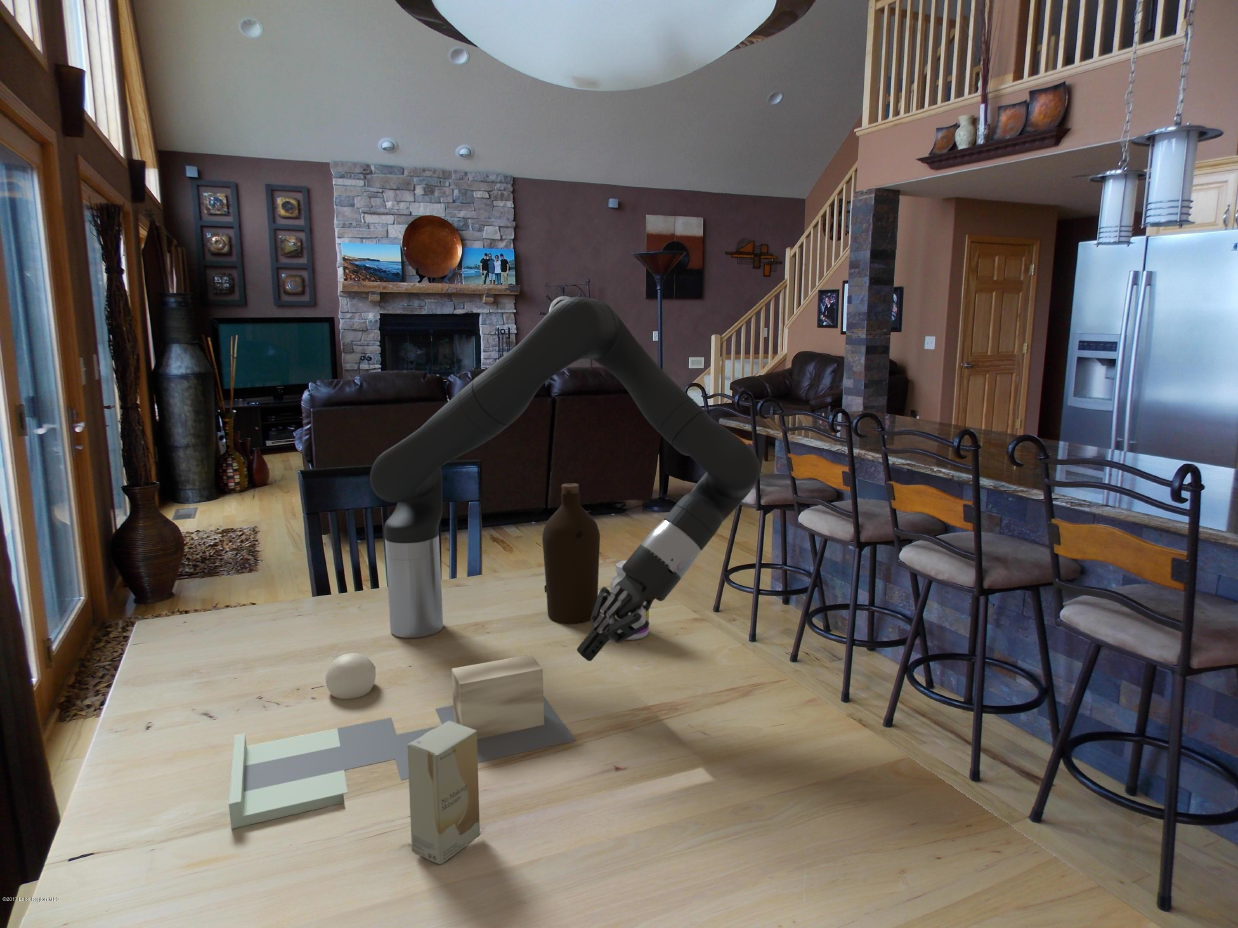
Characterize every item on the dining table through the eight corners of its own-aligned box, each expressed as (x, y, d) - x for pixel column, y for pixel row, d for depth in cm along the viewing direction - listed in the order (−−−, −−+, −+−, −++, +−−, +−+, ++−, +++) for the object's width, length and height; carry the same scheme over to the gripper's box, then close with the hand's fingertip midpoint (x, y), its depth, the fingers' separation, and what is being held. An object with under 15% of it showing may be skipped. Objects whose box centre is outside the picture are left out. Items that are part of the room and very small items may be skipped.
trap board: (236, 756, 101) (234, 734, 101) (538, 696, 117) (537, 676, 116) (231, 828, 87) (228, 803, 86) (576, 748, 102) (575, 727, 102)
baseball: (387, 689, 119) (385, 647, 118) (358, 711, 113) (354, 667, 111) (349, 683, 121) (346, 642, 120) (318, 705, 115) (314, 661, 113)
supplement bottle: (650, 627, 143) (649, 558, 140) (647, 641, 136) (647, 570, 134) (613, 626, 143) (612, 557, 141) (609, 640, 137) (608, 569, 135)
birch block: (454, 724, 106) (451, 668, 105) (533, 708, 111) (531, 654, 109) (462, 742, 102) (459, 684, 100) (544, 724, 106) (542, 668, 105)
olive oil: (612, 612, 150) (611, 483, 146) (574, 629, 142) (572, 493, 137) (570, 600, 156) (568, 476, 152) (532, 616, 148) (528, 485, 144)
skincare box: (440, 867, 80) (434, 756, 78) (410, 852, 83) (403, 744, 80) (483, 832, 86) (478, 728, 83) (453, 820, 88) (448, 717, 86)
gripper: (625, 532, 117) (548, 624, 114) (666, 556, 105) (581, 659, 102) (658, 562, 120) (583, 653, 117) (701, 588, 108) (619, 690, 105)
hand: (583, 656), depth 110 cm, fingers closed
